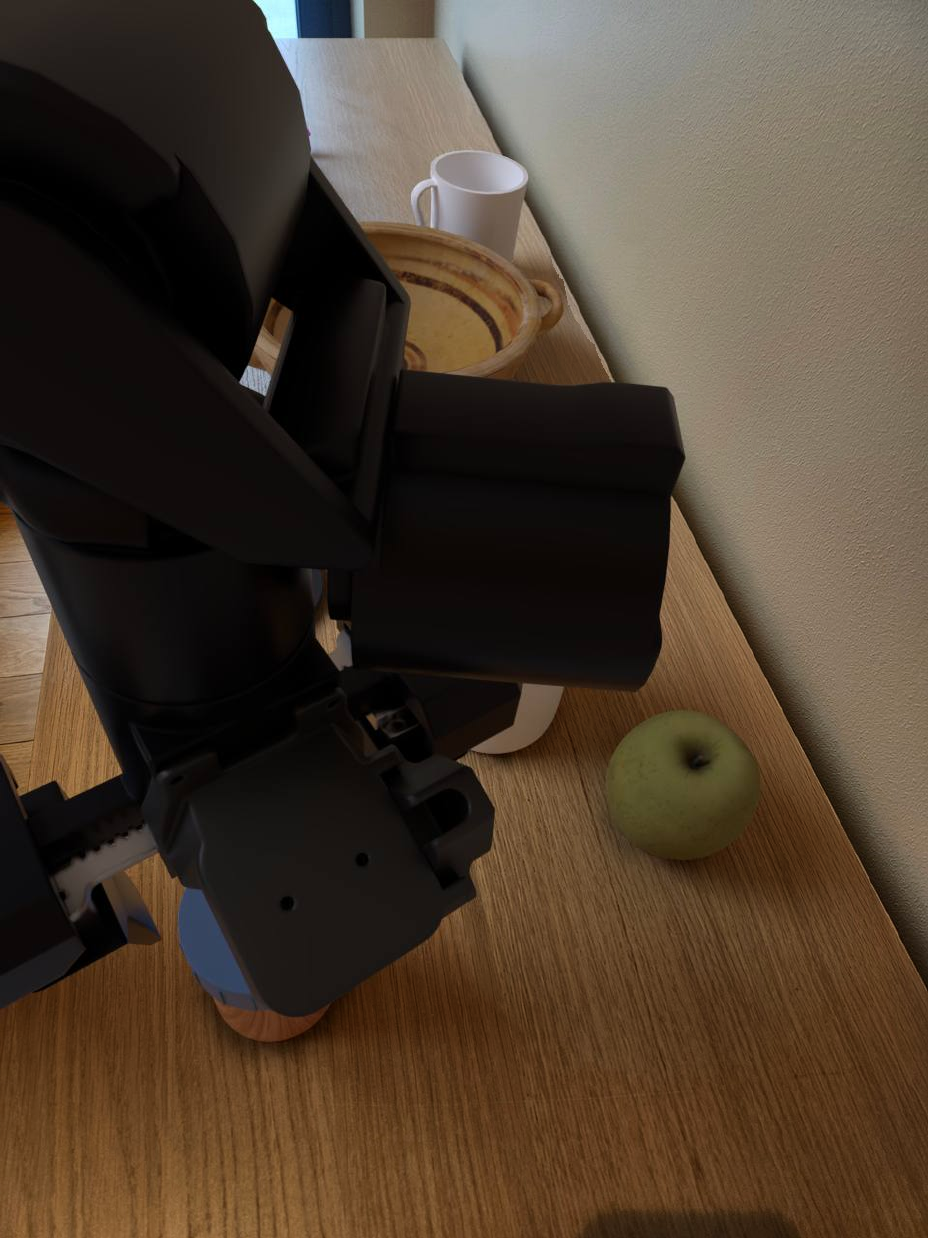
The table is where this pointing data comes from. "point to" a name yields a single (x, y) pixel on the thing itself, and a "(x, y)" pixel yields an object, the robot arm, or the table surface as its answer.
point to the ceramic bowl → (447, 304)
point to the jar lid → (211, 953)
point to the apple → (682, 785)
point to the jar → (266, 1023)
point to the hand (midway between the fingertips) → (254, 873)
